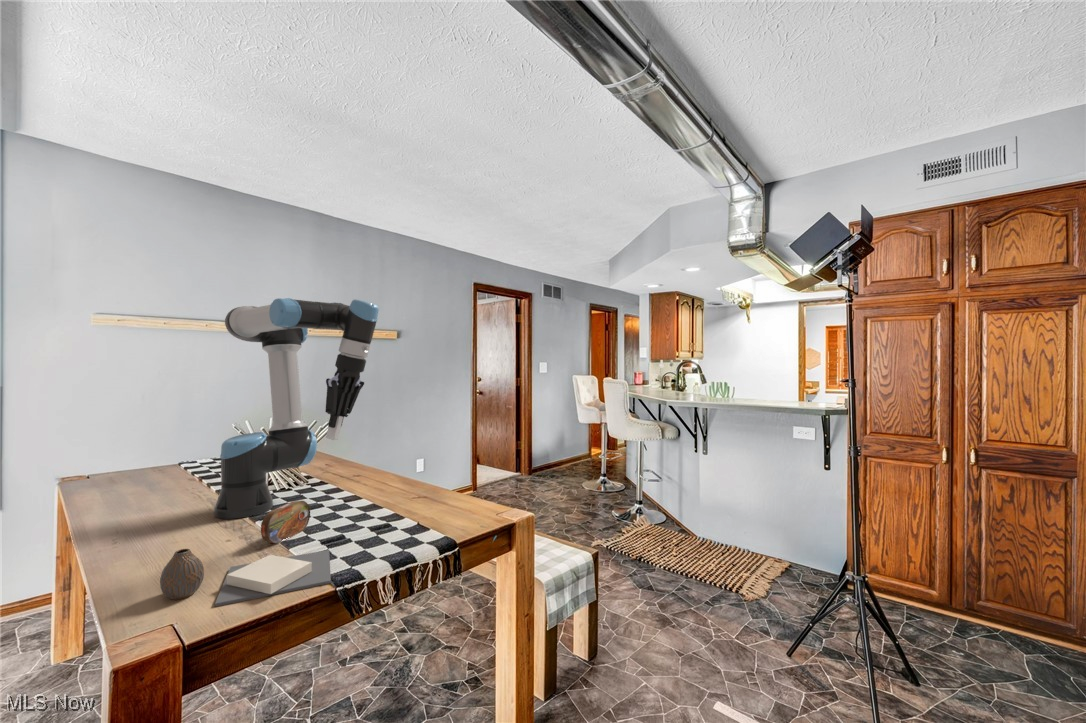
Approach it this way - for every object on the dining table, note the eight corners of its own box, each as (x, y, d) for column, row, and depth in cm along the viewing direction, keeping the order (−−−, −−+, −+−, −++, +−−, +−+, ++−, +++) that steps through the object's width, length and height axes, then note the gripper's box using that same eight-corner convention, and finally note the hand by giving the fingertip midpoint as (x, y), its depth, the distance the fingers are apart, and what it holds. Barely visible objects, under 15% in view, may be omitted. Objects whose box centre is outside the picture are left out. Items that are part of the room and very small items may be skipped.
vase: (188, 602, 88) (188, 557, 88) (150, 604, 87) (150, 559, 87) (212, 585, 95) (211, 543, 94) (177, 586, 94) (176, 544, 94)
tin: (269, 548, 113) (268, 515, 112) (258, 547, 113) (258, 514, 113) (311, 526, 127) (311, 496, 127) (301, 525, 128) (301, 496, 128)
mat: (230, 569, 101) (230, 566, 101) (329, 552, 110) (329, 549, 110) (214, 606, 86) (214, 603, 86) (330, 583, 95) (330, 580, 95)
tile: (270, 564, 103) (226, 585, 93) (270, 554, 103) (226, 574, 93) (311, 572, 99) (270, 595, 89) (311, 562, 99) (270, 584, 89)
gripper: (347, 357, 118) (325, 444, 118) (378, 360, 131) (358, 440, 130) (324, 350, 120) (302, 436, 120) (357, 354, 133) (337, 433, 133)
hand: (331, 438), depth 125 cm, fingers closed
